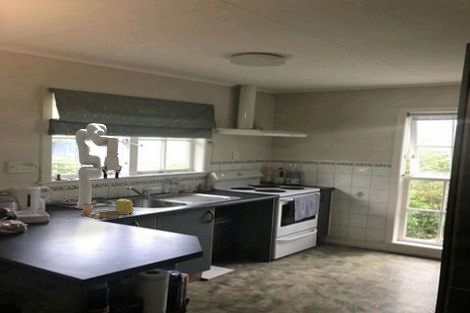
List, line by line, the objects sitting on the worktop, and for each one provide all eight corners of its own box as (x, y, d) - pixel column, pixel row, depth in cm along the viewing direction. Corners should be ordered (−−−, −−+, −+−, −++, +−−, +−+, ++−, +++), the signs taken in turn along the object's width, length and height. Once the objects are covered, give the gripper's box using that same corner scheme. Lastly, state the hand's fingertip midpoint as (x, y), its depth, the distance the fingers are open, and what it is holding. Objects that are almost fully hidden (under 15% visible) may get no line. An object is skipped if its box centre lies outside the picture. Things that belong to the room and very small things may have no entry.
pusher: (95, 216, 314) (95, 210, 314) (108, 215, 322) (109, 208, 322) (96, 216, 313) (96, 210, 313) (109, 215, 322) (110, 209, 322)
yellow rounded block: (133, 213, 340) (133, 199, 339) (128, 215, 329) (129, 201, 329) (119, 212, 341) (120, 198, 340) (114, 214, 330) (115, 200, 330)
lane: (87, 215, 317) (87, 208, 317) (105, 213, 328) (105, 207, 328) (100, 219, 307) (100, 212, 307) (119, 217, 318) (119, 210, 318)
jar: (80, 214, 321) (81, 203, 321) (88, 213, 326) (88, 202, 325) (85, 215, 317) (86, 204, 317) (93, 215, 322) (93, 203, 321)
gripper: (118, 154, 329) (117, 177, 329) (98, 153, 315) (97, 178, 316) (125, 154, 324) (124, 178, 325) (105, 154, 311) (103, 179, 311)
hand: (111, 178), depth 320 cm, fingers open, 9 cm apart
